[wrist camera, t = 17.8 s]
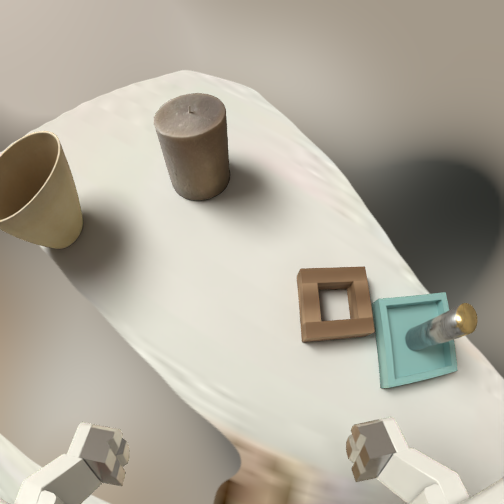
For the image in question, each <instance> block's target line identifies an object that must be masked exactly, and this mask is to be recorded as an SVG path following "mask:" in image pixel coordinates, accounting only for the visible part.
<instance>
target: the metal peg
mask: <svg viewBox="0 0 504 504" xmlns="http://www.w3.org/2000/svg"><path fill="white" fill-rule="evenodd" d="M476 326H477V314H476V312H475V310H474V308H473V307H472V306H471V305H469V304H467V303H463V304H461V305H459V306H457V307H455V308H453V309H452V310H449V311H447V312H445V313H443V314H441V315H439V316H437V317H435V318H433V319H430V320H428V321H426V322H424V323H422V324H420V325H417V326H415V327H413V328H411V329H409V330H408V332H407V333H406V336H405V342H406V345H407V347H408V348H409V349H410V350H412V351H419V350H423V349H426V348H429V347H432V346H435V345H439V344H442V343H445V342H448V341H451V340H454V339H456V338H459V337H462V336H465V335H468V334H470V333H472V332H473V331H474V330H475V328H476Z"/></svg>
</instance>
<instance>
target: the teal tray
mask: <svg viewBox="0 0 504 504" xmlns="http://www.w3.org/2000/svg"><path fill="white" fill-rule="evenodd" d="M372 310H373V318H374V325H375V333H376V342H377V351H378V361H379V373H380V386H381V388H390V387H395V386H400V385H404V384H409V383H413V382H417V381H421V380H425V379H429V378H433V377H437V376H441V375H444V374H448V373H451V372H455V371H457V362H456V353H455V345H454V340H451V341H448V342H445V343H442V344H439V345H435V346H432V347H429V348H426V349H423V350H419V351H412V350H410V349H409V348H408V347H407V345H406V342H405V336H406V333H407V332H408V330H409V329H411V328H413V327H415V326H417V325H420V324H422V323H424V322H426V321H428V320H430V319H433V318H435V317H437V316H439V315H441V314H443V313H445V312H447V311H449V307H448V302H447V297H446V293H445V292H444V293H435V294H426V295H416V296H406V297H395V298H383V299H378V300H376V301H375V302H374V303H372Z"/></svg>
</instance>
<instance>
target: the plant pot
mask: <svg viewBox="0 0 504 504" xmlns="http://www.w3.org/2000/svg"><path fill="white" fill-rule="evenodd" d="M82 226H83V219H82V213H81V207H80V203H79V198H78V194H77V190H76V187H75V183H74V180H73V177H72V174H71V170H70V168H69V165H68V162H67V159H66V157H65V154H64V152H63V149H62V146H61V144H60V141H59V139H58V137H57V136H56V135H55V134H54V133H52V132H49V131H38V132H34V133H31V134H29V135H26V136H24V137H22V138H21V139H19V140H18V141H16V142H15V143H13V144H12V145H11V146H9V147H8V148H7V149H6V150H5V151H4V152H3V153H2V154H1V155H0V229H1V230H2V231H4V232H6V233H8V234H10V235H13V236H15V237H17V238H19V239H22V240H25V241H28V242H30V243H34V244H37V245H41V246H45V247H50V248H56V249H62V248H66V247H68V246H70V245H71V244H72V243H74V242H75V240H76V239H77V238H78V237H79V235H80V233H81V230H82Z"/></svg>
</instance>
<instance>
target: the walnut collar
mask: <svg viewBox="0 0 504 504" xmlns="http://www.w3.org/2000/svg"><path fill="white" fill-rule="evenodd" d="M297 286H298V297H299V309H300V322H301V335H302V342H310V341H323V340H335V339H345V338H355V337H364V336H368V335H370V334H372V333H374V332H375V330H374V322H373V315H372V308H371V301H370V294H369V288H368V282H367V276H366V270H365V267H340V268H308V269H300V271H299V273H298V275H297ZM327 289H347V295H348V302H349V310H350V318H351V319H346V320H334V321H321V313H320V303H319V294H318V290H327Z"/></svg>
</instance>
